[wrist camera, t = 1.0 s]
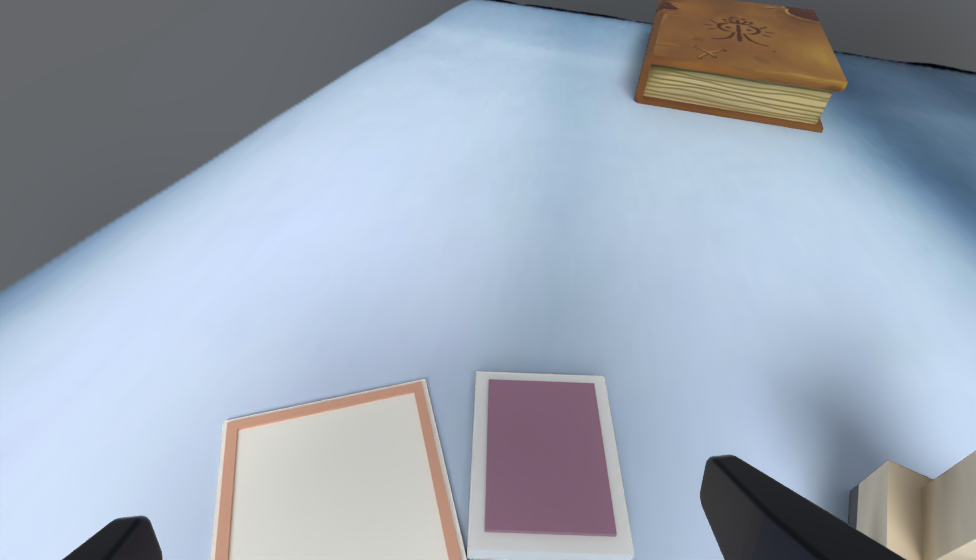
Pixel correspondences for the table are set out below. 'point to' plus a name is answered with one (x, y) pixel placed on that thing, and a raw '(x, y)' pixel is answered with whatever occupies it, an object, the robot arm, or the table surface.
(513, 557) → the ink pad
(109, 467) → the table surface
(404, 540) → the marked card
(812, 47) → the diary
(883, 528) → the stamp
